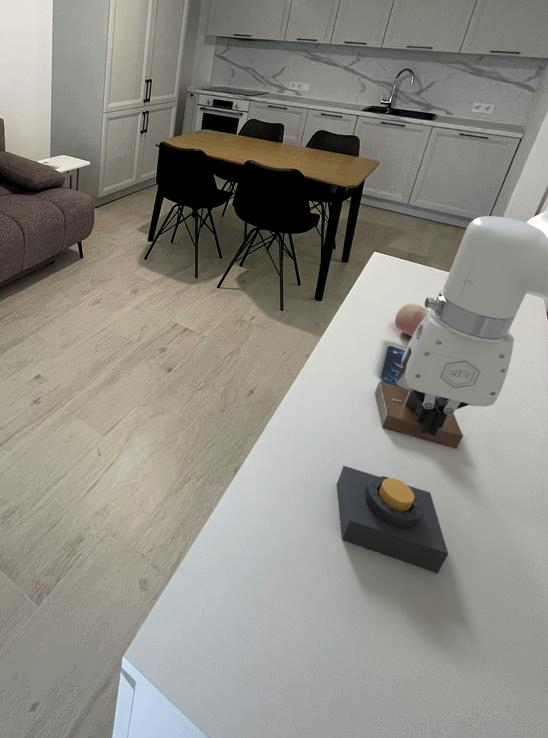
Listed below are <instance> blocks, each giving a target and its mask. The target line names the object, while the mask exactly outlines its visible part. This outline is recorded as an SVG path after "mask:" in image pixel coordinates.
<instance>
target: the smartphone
mask: <svg viewBox="0 0 548 738" xmlns="http://www.w3.org/2000/svg"><path fill="white" fill-rule="evenodd" d="M405 351H406V349H401V348H400V347H396V346H393V345H388V346H387V347H386V351H385V356H384V360H383V363H382V367H381V371H380V378H379V379H381V380H382V382H384V383H387V384H391V385H395V386H398V385H397V382H396V379H395V377H396V375H397V374H398V373H399V372H400V370H401V369H402V367H401V362H402V358H403V355H404V353H405ZM399 387H400V386H399Z"/></svg>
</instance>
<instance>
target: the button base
mask: <svg viewBox="0 0 548 738" xmlns="http://www.w3.org/2000/svg"><path fill="white" fill-rule="evenodd" d="M340 471H341V472H340V474H339V477H338V479H337V482H336V492H337V502H338V503H339V504H338V503H337V504H338V514H340V515H339V524H340V525H341V526H340V525H339V526H340V532H341V533H340V535H342V536H341V541H343V542H346V543H349V544H351V543H352V544H351V545H354V544H355V546H357V545H358V546H357V547H360V546H361V547H360V548H363V549H366V550H368V551H371V550H372V552H374V551H375V552H374V553H377V552H378V553H377V554H380V553H381V554H380V555H383V556H385V557H389V558H391V557H392V558H391V559H394V558H395V559H394V560H397V559H398V561H400V560H401V561H400V562H403V563H405V564H406V563H407V564H408V565H411V564H412V566H414V565H415V566H414V567H417V566H418V567H417V568H420V567H421V568H420V569H423V570H426V571H429V572H431V571H432V573H434V572H435V574H439V572H440V570H441V568H442V567H443V564H444V562H445V561H446V559H447V557H448V555H449V552H448V548H447V545H446V542H445V538H444V534H443V531H442V528H441V524H440V521H439V517H438V515H437V511H436V507H435V504H434V501H433V497H432V493H431V492H430V491H427V490H424V489H420V488H417V487H414V486H410V485H408V484H406V485H407V486H408V487H409V488H410V489H411V490H412V492H413V494H414V501H413V503H412V505H411V507H410V509H409V510H408V511H398V510H395V509H393V508H391V507H390V506H388V505H387V504H385V503H384V501H383V500H382V499H381V497H380V494H379V490H380V488H381V485H382V483H383V481H384V480H385V479H388V478H389V477H388V476H384V475H382V476H381V475H380V476H379V475H375V474H372V473H369V472H366V471H362V470H359V469H356V468H353V467H349V466H346V465H343V466H342V469H341V470H340Z"/></svg>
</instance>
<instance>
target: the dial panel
mask: <svg viewBox="0 0 548 738" xmlns="http://www.w3.org/2000/svg"><path fill="white" fill-rule="evenodd" d="M408 393H409V390H407V389H405V388H402V387H399V386H395V385H393V384H390V383H388V382H384V381H378V383H377V385H376V388H375V391H374V395H375V401H376V404H377V405H376V406H377V410H378V414H379V419H380V423H381V428H383V429H387V430H390V431H393V432H397V433H401V434H404V435H408V436H410V437H415V438H418V439H422V440H425V441H429V442H432V443H436V444H440V445H443V446H447V447H450V448H453V449H458V447H459V445H460V444H461V441H462V439H463V433H462V430H461V428H460V425H459V423H458V421H457V418H456V416H455V414H454V413H455V412H454V413H453V414H450V415H449V414H448V415H447V417H446V419H445V422H444V424H443V426H442V428H438V431H437V433H436V435H435V436H432V435H430V434H428V433H426V434H424V433H421V431H420V428H419V425H418V423H417V422H415V419H414V414H415V412H414V411H412V410H411V409H410V408H408V406H407V405H406V403H405V400H406V398H407V395H408Z"/></svg>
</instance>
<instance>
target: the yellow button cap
mask: <svg viewBox="0 0 548 738" xmlns="http://www.w3.org/2000/svg"><path fill="white" fill-rule="evenodd" d="M407 485H408V484H406V483H404V482H403V481H401V480H399V479H397V478H392V477H388V479H385V480H384V481H383V483H382V485H381V488H380V490H379V494H380V497H381V499H382V500H383V501H384V503H385V504H387V505H388V506H390V507H391V508H393V509H395V510H398V511H408V510H409V509H410V507H411V505H412V503H413V501H414V494H413V492H412V490H411V489H410V488H409V487H408V486H409V485H408V486H407Z"/></svg>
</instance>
